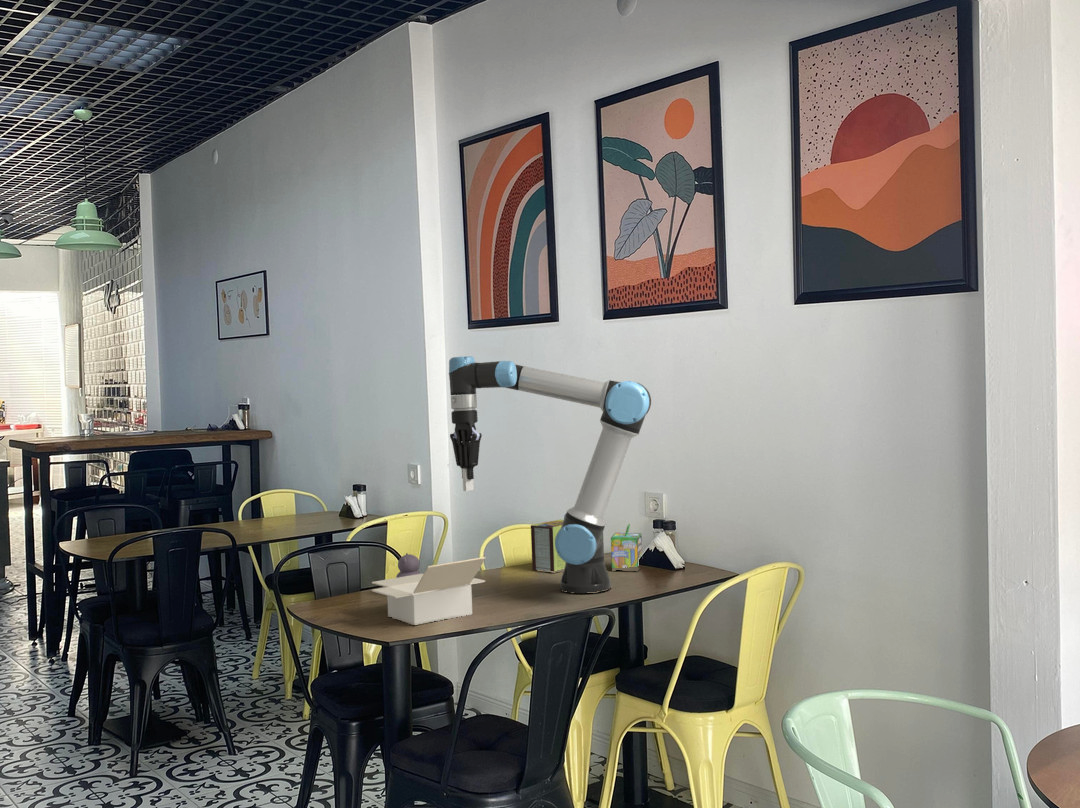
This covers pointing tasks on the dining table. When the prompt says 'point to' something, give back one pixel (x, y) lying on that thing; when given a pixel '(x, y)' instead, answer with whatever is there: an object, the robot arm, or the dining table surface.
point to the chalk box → (626, 549)
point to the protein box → (546, 546)
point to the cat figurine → (408, 565)
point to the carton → (425, 600)
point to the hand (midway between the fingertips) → (468, 490)
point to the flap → (449, 575)
